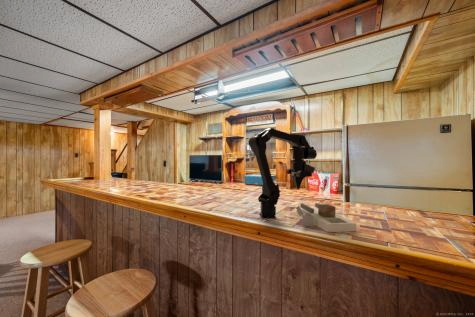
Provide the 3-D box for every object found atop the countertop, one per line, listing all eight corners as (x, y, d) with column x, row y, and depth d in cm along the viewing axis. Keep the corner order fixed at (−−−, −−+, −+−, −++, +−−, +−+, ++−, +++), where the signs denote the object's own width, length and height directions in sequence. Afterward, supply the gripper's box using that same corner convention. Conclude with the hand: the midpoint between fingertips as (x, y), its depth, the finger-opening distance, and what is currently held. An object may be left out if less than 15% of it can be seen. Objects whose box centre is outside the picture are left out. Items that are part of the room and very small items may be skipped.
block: (324, 217, 86) (324, 207, 86) (318, 214, 91) (318, 204, 91) (335, 217, 87) (335, 206, 87) (328, 214, 92) (328, 204, 92)
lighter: (313, 225, 85) (313, 206, 85) (313, 226, 84) (313, 207, 84) (295, 223, 88) (295, 204, 88) (295, 224, 86) (295, 205, 86)
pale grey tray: (327, 232, 77) (327, 219, 77) (296, 212, 105) (296, 202, 105) (356, 230, 79) (356, 218, 79) (318, 211, 107) (318, 202, 107)
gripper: (322, 159, 98) (322, 191, 98) (304, 159, 117) (304, 186, 117) (300, 159, 97) (300, 192, 97) (286, 159, 115) (285, 186, 115)
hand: (298, 189), depth 106 cm, fingers closed
